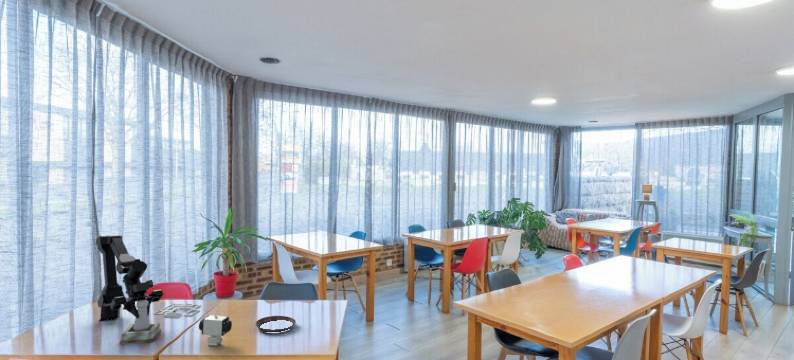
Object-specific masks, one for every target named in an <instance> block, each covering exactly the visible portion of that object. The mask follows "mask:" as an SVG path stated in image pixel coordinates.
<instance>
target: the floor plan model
mask: <svg viewBox="0 0 794 360" xmlns="http://www.w3.org/2000/svg"><path fill="white" fill-rule="evenodd" d="M201 307H202V304H201V303H199V304H198V303H171V304H168V305H167V306H165V307H163V308H161V309H160V310H158V311H155V312H153V315H160V316H163V318H169V319H180V317H182V315H183V317H189V318H190V317H192V316H195V315H196V314H198V313H199V312H200V311H201V309H199V308H201ZM173 308H174V309H173ZM171 309H172V310H171ZM180 310H181V312H177V311H180ZM186 311H187V312H186ZM182 312H183V314H182Z"/></svg>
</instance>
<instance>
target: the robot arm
mask: <svg viewBox="0 0 794 360" xmlns="http://www.w3.org/2000/svg"><path fill="white" fill-rule="evenodd" d="M95 244H96V246H97V250H98V251H99V252H100V254H102V263H103V274H104V277H103V278H104V287H103V288H102V290H101V293H100V294H101V295H100V296H99V298H98V299H97V306H98V307H99V308H100V318H99V319H98V321H99V322H103V321H104V322H105V321H116V320H117V319H118V318H119V317H120V316H121V315H120V314H121V307H122V305H123V307H122V310H125V311H127V312H129V313H130V314H132V316H134V318H137V319H138V318H139V314H138V311H137V310H138V307H137V305H136V303H137V302H138V301H141V300H147V301H148V302H149V303H148V306H147V314H148V317H149V315H150V306H151V304H152V303H156V302H159V301H160V300H161V299H162V297H163V296H164V295H165V293H164V290H163V289H155V290H152V291H150V293H149V294H147V293H148V290H150V289H151V288H153V287H154V281H153V280H152V279H149V280H148V279H147V280H146V281H144V282H141V278H142V277H143V275H144V273H145V272H146V271H147V269H148V264H147V263H146V262H144V261H143V260H141V259H140V258H135V257H134V256H133V255H130V252H129V251H128V249H127V246H126V245H125V242H124V241H123V236H122V235H121V234H112V233H111V234H100V235H99V236H98V237H96V239H95ZM116 262H117V263H116ZM117 273H118V274H119V275H123V276H122V280H121V281H122V283H124V286H125V290H126V291H125V293H124V291H123V285H122V284H119V283H118V276H117ZM125 294H126V295H127V296H128V297H126V296H125Z"/></svg>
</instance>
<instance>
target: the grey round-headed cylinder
mask: <svg viewBox="0 0 794 360" xmlns="http://www.w3.org/2000/svg"><path fill="white" fill-rule="evenodd" d="M148 303H149V302H148V301H147V300H141V301H137V302H136V308H137V311H138V314H139V318H138V319H137V318H136V317H134V318H135V319H134V323H133V324H134V327H133V329H134V330H135V332H136V331H147V330H148V328H149V325H150V323H151V322H150V319H149V316H148V314H147V306H148Z"/></svg>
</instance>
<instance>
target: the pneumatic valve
mask: <svg viewBox="0 0 794 360" xmlns="http://www.w3.org/2000/svg"><path fill="white" fill-rule="evenodd" d="M232 327H233V323H232V321H231V320H230V316H222V315H217V314H214V315H206V317H203V318H201V319H200V322H199V324H198V329H199V330H198V331H200V332H201V335H204V336H205V335H207V336H208V337H207V341H206V342H207V345H208V346H211V347H218V346H219V345H221V344H222V343H223V338H222V337H223V336H225V335H226V334H228V333H230V331H231V330H232Z"/></svg>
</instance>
